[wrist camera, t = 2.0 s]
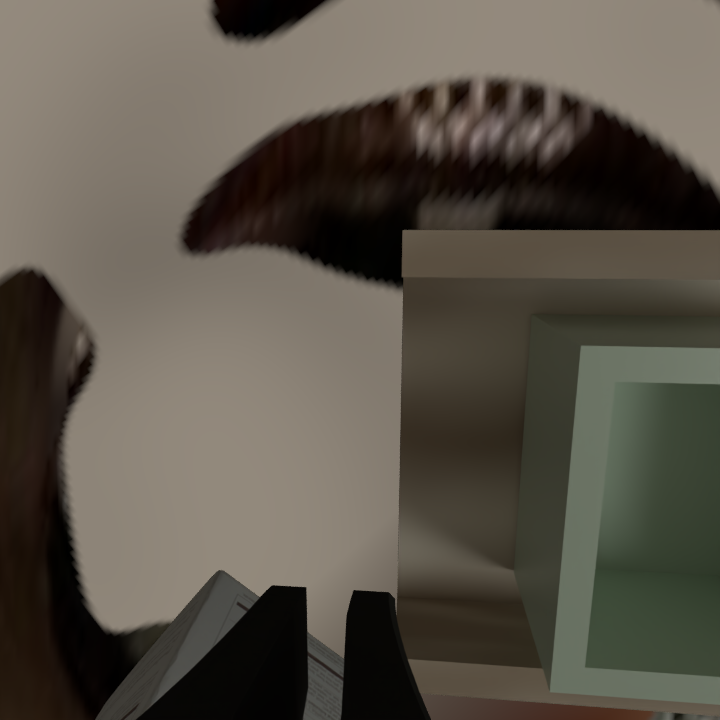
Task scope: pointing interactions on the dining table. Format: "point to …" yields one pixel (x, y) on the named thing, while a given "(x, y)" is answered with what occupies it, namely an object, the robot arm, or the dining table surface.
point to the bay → (502, 429)
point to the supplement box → (198, 636)
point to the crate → (623, 505)
